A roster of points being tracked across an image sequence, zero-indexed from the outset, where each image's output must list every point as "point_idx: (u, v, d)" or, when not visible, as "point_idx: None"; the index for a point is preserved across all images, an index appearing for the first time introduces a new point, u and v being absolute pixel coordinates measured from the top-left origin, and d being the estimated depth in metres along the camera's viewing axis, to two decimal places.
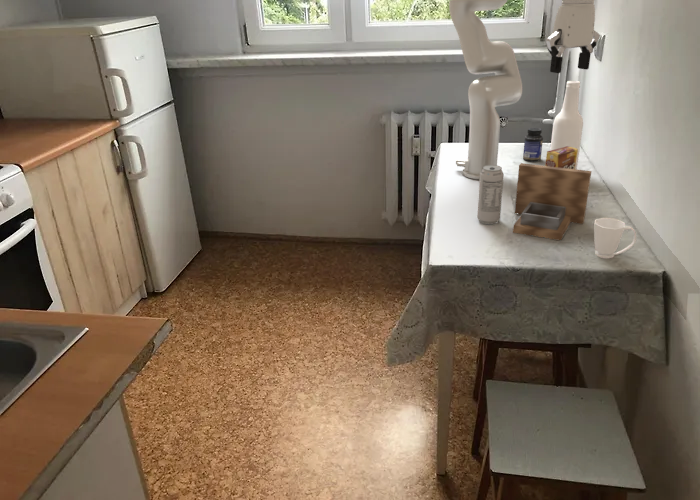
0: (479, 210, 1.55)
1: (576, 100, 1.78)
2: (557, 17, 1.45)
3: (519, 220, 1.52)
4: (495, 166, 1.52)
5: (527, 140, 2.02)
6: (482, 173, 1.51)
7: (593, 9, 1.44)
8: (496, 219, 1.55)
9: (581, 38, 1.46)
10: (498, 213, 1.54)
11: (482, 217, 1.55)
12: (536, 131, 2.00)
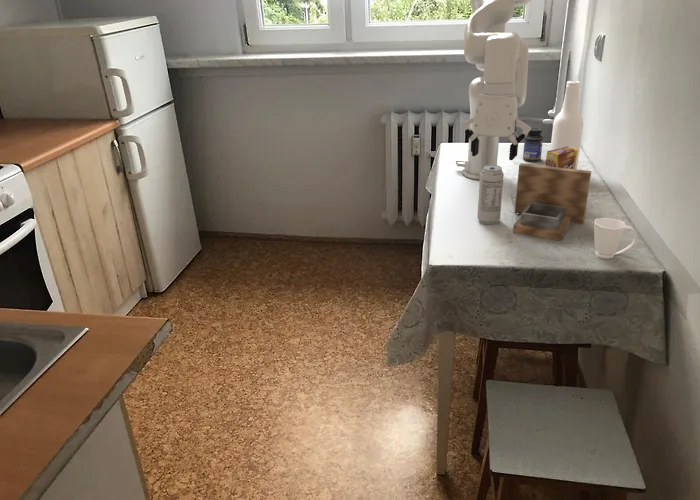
0: (479, 210, 1.55)
1: (576, 100, 1.78)
2: (514, 107, 1.41)
3: (519, 220, 1.52)
4: (495, 166, 1.52)
5: (527, 140, 2.02)
6: (482, 173, 1.51)
7: None
8: (496, 219, 1.55)
9: None
10: (498, 213, 1.54)
11: (482, 216, 1.55)
12: (536, 131, 2.00)
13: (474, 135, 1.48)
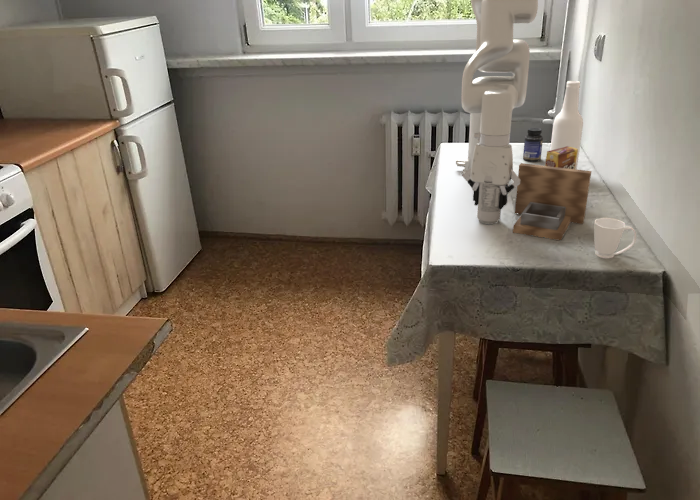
0: (479, 210, 1.55)
1: (576, 100, 1.78)
2: (510, 158, 1.46)
3: (519, 220, 1.52)
4: None
5: (527, 140, 2.02)
6: None
7: None
8: (496, 219, 1.55)
9: None
10: (498, 213, 1.54)
11: (481, 216, 1.55)
12: (536, 131, 2.00)
13: (475, 185, 1.54)
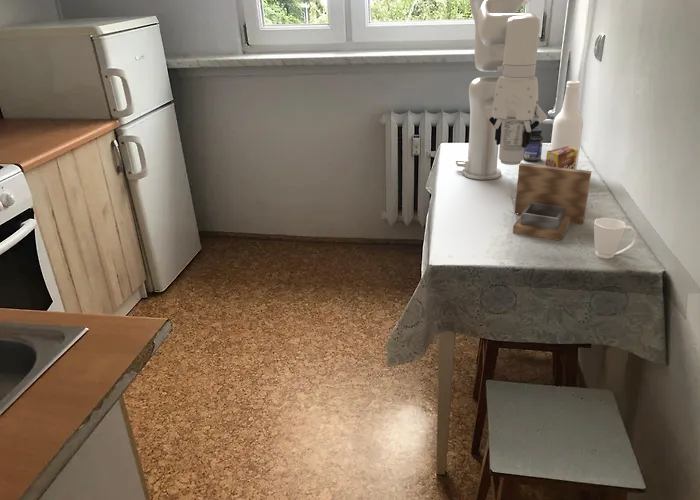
0: (501, 150, 1.46)
1: (576, 100, 1.78)
2: (535, 90, 1.37)
3: (519, 220, 1.52)
4: None
5: None
6: None
7: None
8: (519, 159, 1.46)
9: None
10: (521, 153, 1.45)
11: (504, 156, 1.46)
12: (536, 131, 2.00)
13: (498, 122, 1.45)
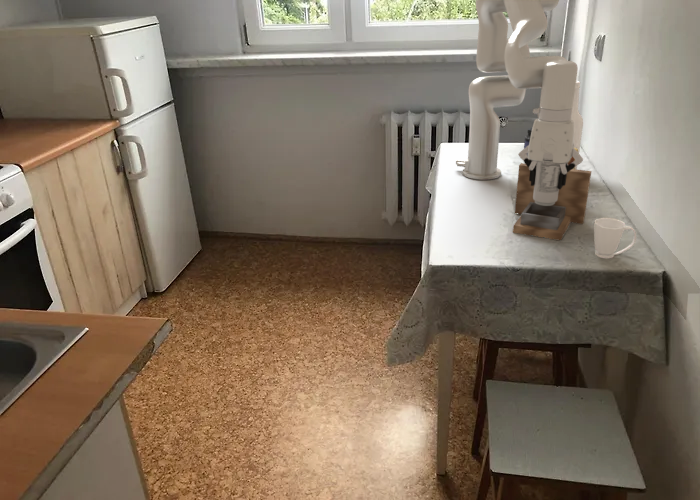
0: (536, 191, 1.47)
1: (576, 100, 1.78)
2: (572, 134, 1.38)
3: (519, 220, 1.52)
4: None
5: (527, 140, 2.02)
6: None
7: None
8: (554, 200, 1.46)
9: None
10: (556, 194, 1.46)
11: (539, 197, 1.46)
12: None
13: (532, 164, 1.45)
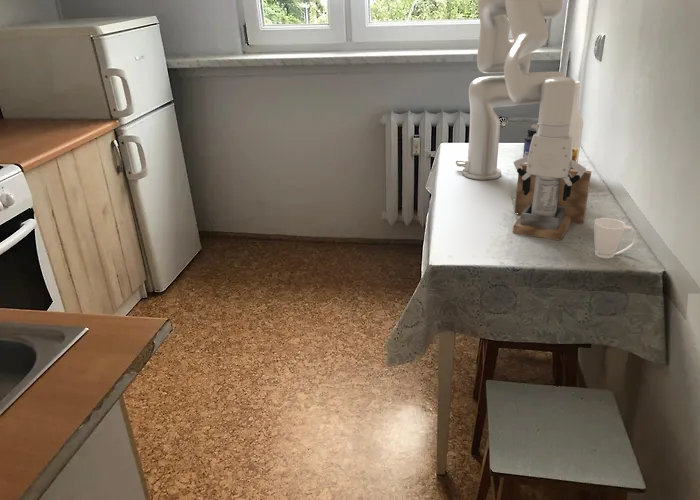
0: (534, 209, 1.49)
1: (576, 100, 1.78)
2: (570, 149, 1.39)
3: (519, 220, 1.52)
4: None
5: (527, 140, 2.02)
6: None
7: None
8: None
9: None
10: (554, 213, 1.48)
11: None
12: None
13: (527, 175, 1.47)
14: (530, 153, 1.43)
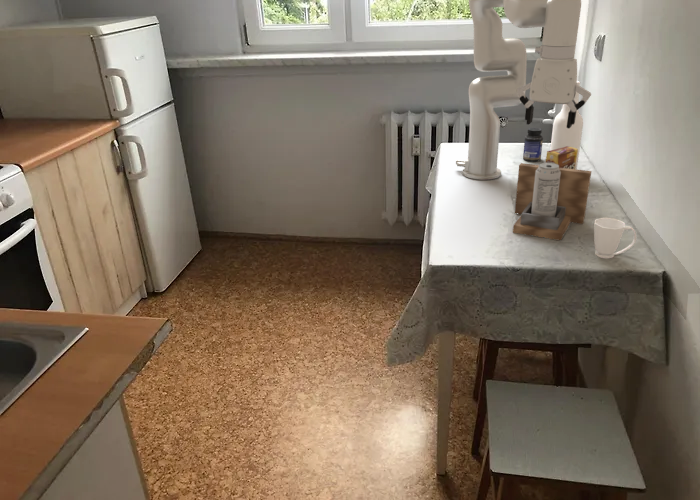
0: (534, 210, 1.49)
1: (576, 100, 1.78)
2: (575, 72, 1.35)
3: (519, 220, 1.52)
4: (551, 164, 1.46)
5: (527, 140, 2.02)
6: (538, 171, 1.45)
7: None
8: None
9: None
10: (554, 213, 1.48)
11: None
12: (536, 131, 2.00)
13: (530, 102, 1.42)
14: (533, 78, 1.39)
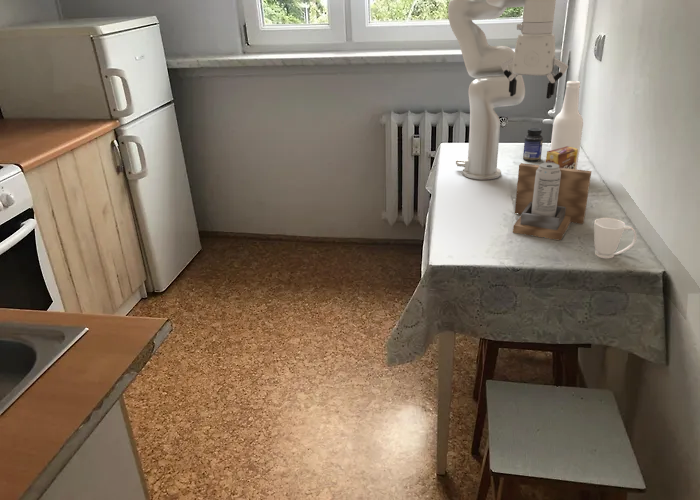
0: (534, 209, 1.49)
1: (576, 100, 1.78)
2: (553, 46, 1.48)
3: (519, 220, 1.52)
4: (552, 164, 1.46)
5: (527, 140, 2.02)
6: (539, 171, 1.45)
7: None
8: None
9: None
10: (554, 213, 1.48)
11: None
12: (536, 131, 2.00)
13: (513, 75, 1.56)
14: (515, 52, 1.52)
